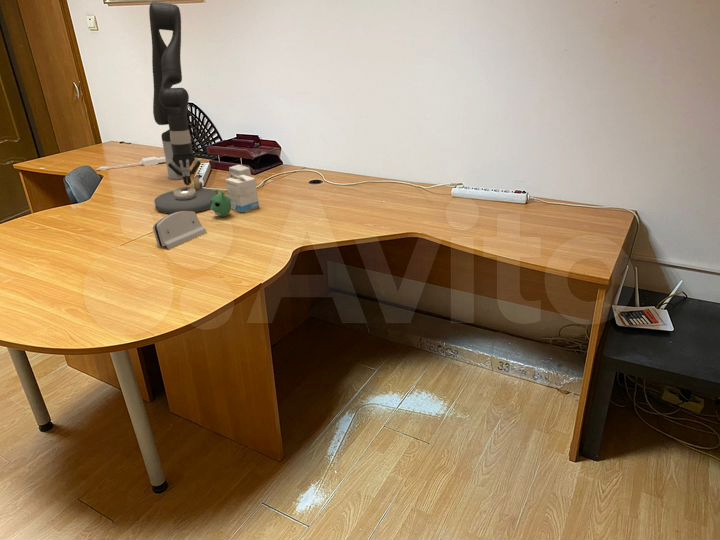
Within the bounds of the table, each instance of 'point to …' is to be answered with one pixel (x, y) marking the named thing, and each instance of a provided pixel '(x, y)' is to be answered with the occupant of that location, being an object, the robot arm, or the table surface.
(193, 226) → the grey curved-top upright plate
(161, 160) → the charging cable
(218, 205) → the alien toy
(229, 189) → the ink box
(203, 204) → the turntable
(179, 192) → the cover
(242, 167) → the ink box
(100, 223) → the table surface
